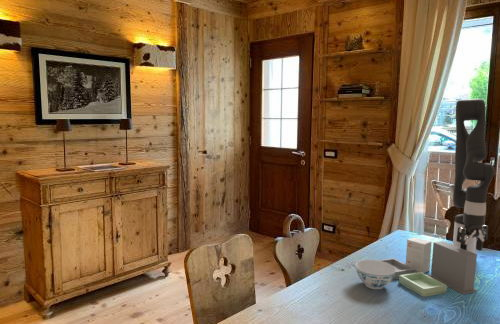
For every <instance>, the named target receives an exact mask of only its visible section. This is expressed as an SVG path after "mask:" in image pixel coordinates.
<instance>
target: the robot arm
mask: <svg viewBox="0 0 500 324" xmlns="http://www.w3.org/2000/svg"><path fill="white" fill-rule="evenodd" d="M486 108H487V107H486V103H485V100H484V99H482V98H469V99H468V98H467V99H465V98H464V99H458V101H457V102H456V104H455V129H456V130H455V131H456V134H455V150H454V151H455V152H454V163H455V165H454V184H453V185H454V186H453V193H452V194H453V195H452V203H453V206H454V207H456V208H459V209H463V213H462V214H461V213H460V214H456V215H455V216H454V226H453V237H452V239H453V240H452V245H454V246H456V247H459V248H462V249H464V250H467V251H469V252H472V253H475V254H477V251H479V252H480V251H483V244H484V242H485V241H487V240H488V238H489V225H487V224H486V225H485V222H486V214H487V194H488V190H489V187H490V184H491V182H492V180H493V178H494V175H495V167H494V166H493V164H492V163H488V162H483V161H485V160H486V158H487V156H488V155H487V154H488V153H487V145H486V125H487V124H486V120H487V118H486V117H487V116H486V114H487V113H486V112H487V111H486V110H487V109H486ZM466 121H476V124H475V126H474V128H473V129H472V130H471V132H470V133H469V131H468V130H467V128H466V125H465V122H466ZM466 180H468V181H480V182H479V184H476V185H470V186H468V187H466V188H463V184H464V182H465V181H466Z"/></svg>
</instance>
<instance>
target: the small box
mask: <svg viewBox="0 0 500 324" xmlns="http://www.w3.org/2000/svg"><path fill="white" fill-rule="evenodd" d="M432 244H433V242H432V241H431V240H427V239H422V238H418V237H415V236H414V237H412V238H411V237H410V238H408V239H407V240H406V251H405V253H406V255H405V264H406V265H408V266H410V267H412V268H414V269H415V273H417V272H422V273H424V274H425V273H427V272H429V271H430V270H431V259H432V255H431V254H432Z"/></svg>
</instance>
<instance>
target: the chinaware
mask: <svg viewBox="0 0 500 324" xmlns="http://www.w3.org/2000/svg"><path fill="white" fill-rule="evenodd" d="M377 260H378V259H377ZM377 260H376V259H362V260H359V261H356V263H355V269H356V274H357V276H358V278H359V279H360V280H361V281H362V282H363V283H364V284H365V287H367V288H369V289H372V290H382V289H384V287H385V286H387V285H389V284H391V282H392V281H393V280H394V279H393V278H394V276H395V273H396V269H395V267H394V266H392V265H391V264H388V263H386V262H382V261H377Z"/></svg>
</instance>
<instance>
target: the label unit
mask: <svg viewBox="0 0 500 324" xmlns="http://www.w3.org/2000/svg"><path fill="white" fill-rule="evenodd" d="M432 244H433V245H432V246H433V247H432V255H431V266H430V270H431V271H430V274H427V275H428V276H430V277H432V278H434V279H436V280H438V281H440V282H442V283H444V284H446V285H447V288H449V289H452V290H453V291H456V292H458V294H459V293H460V294H461V295H466V294H473V293H476V292H477V291H478V290H477V289H476V288H475V277H476V267H477V258H478V254H477V253H476V254H475V253H472V252H469V251H467V250H464V249H462V248H459V247H456V246H454V245H453V244H451V243H449V242H446V241H443V240H442V241H441V240H440V241H436V242H435V241H434V242H432Z"/></svg>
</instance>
